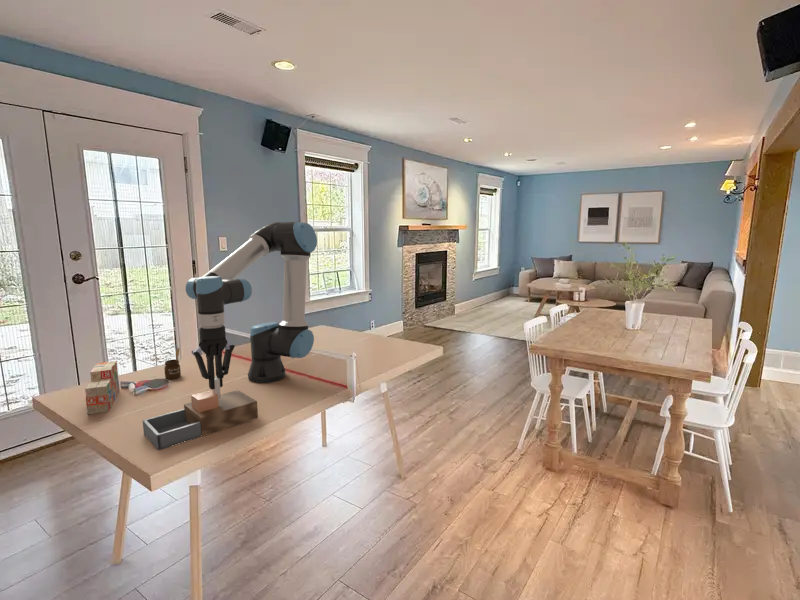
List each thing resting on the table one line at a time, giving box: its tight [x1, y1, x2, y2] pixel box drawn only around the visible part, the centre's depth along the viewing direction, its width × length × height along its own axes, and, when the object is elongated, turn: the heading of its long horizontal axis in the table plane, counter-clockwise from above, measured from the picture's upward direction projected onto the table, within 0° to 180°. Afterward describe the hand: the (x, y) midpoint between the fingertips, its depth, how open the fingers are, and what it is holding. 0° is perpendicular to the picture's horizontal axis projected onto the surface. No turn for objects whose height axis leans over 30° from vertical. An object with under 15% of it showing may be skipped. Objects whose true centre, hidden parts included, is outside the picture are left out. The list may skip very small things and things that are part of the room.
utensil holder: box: [164, 347, 182, 380], centre depth 182 cm, size 6×6×12 cm
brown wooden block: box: [183, 389, 259, 437], centre depth 141 cm, size 18×14×6 cm
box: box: [142, 408, 202, 451], centre depth 131 cm, size 12×14×4 cm
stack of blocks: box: [84, 360, 121, 415], centre depth 155 cm, size 21×6×12 cm, turn 24°
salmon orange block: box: [190, 389, 219, 413], centre depth 137 cm, size 6×6×4 cm
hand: (216, 397), depth 139 cm, fingers closed
